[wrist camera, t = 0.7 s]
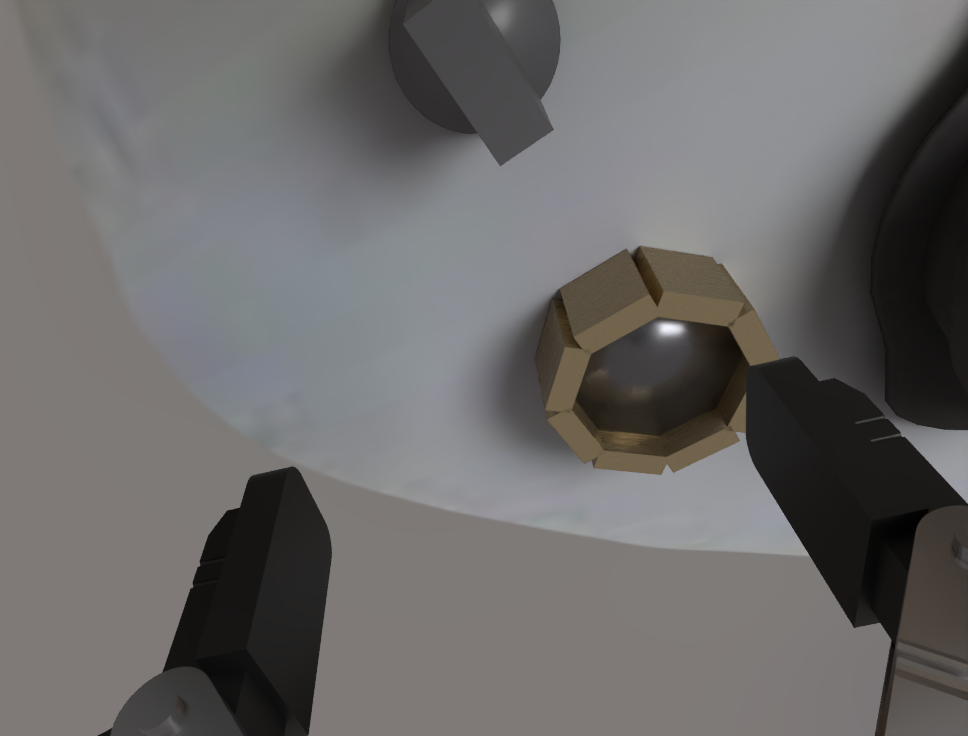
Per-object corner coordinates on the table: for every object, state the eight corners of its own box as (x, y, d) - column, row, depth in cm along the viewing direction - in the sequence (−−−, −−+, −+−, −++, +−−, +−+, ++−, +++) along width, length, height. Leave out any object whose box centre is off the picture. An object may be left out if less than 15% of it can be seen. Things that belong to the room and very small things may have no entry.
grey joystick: (496, -100, 22) (511, -90, 18) (583, 60, 25) (617, 105, 21) (356, 15, 24) (337, 52, 19) (454, 151, 27) (458, 212, 22)
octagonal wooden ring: (693, 209, 29) (724, 251, 26) (771, 359, 34) (806, 409, 31) (501, 323, 32) (508, 374, 29) (599, 445, 37) (615, 500, 34)
